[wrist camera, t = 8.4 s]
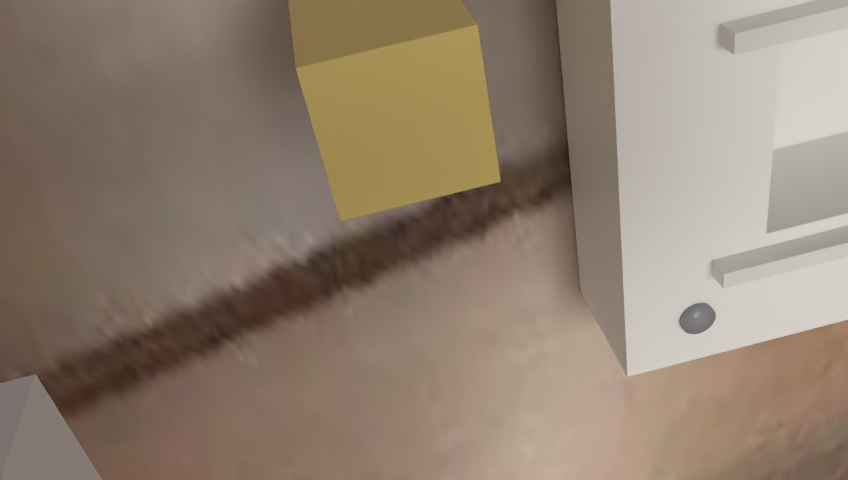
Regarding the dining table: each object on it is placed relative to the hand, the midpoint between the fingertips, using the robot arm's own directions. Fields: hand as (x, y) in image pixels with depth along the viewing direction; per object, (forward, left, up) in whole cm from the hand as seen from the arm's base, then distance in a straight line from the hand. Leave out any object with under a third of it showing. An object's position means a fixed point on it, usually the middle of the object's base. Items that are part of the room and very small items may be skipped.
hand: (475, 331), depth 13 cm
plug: (0, 0, -15) cm, 15 cm away
